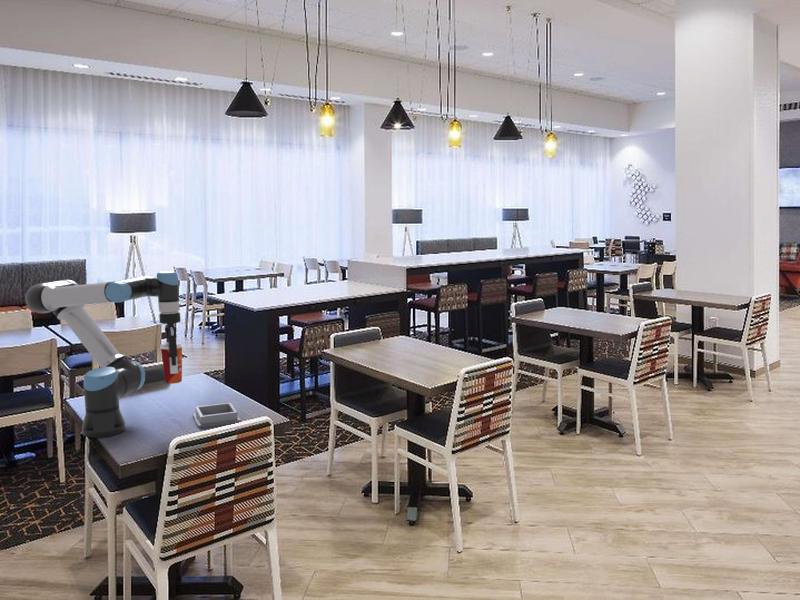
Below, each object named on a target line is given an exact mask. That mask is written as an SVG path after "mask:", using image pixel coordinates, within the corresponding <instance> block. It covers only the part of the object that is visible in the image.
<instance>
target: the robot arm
mask: <svg viewBox="0 0 800 600" xmlns="http://www.w3.org/2000/svg"><path fill="white" fill-rule="evenodd" d="M179 284H180V283H179V277H178V273H177V272H176V271H170V270H169V271H159V272H156V276H141V275H138V276H131V277H130V278H128V279H121V280H114V281H103V282H95V283H94V282H93V283H86V284H84V283H83V284H79V283H77V282H75V281H74V280H71V279H58V280H57V279H56V280H55V281H47V282H46V281H45V282H40V283H37V284H34V285H32V286H31V287H30V288H28V290H27V291H26V294H25V298H24V299H25V304H26V306H27V307H28V309H30V310H31V311H32V312H34V313H37V314H47V313H53V314H54V316H55V317H56V318H57V320H61V321H64V322H65V323H66V324H67V325H68V327H69V328H70V330H71V331H72V332H73V334H74V335H75V336H76V337H77V338H78V340H79V341H80V343H81V344H82V345H83V346H84V348H85V349H86V350H87V352H88V353H89V354H90V356H91V357H92V358H93V360H94V361H95V362H96V363H97V365H98V366H99V368H93V369H90V370H89V371H87V372H86V373H85V374H84V377H83V386H82V387H83V394H84V395H83V396H84V406H85V413H84V414H85V415H84V419H83V422H82V426H81V434H82V436H83V437H85V438H96V439H97V438H98V439H99V438H107V437H108V438H109V437H111V436H115V435H118V434H121V433H123V432H125V430H126V421H125V419H124V416H123V414H122V412H121V410H120V399H121V398H122V397H125V396H127V395H129V394H133V393H135V392H136V391H138V390H139V389H141V388H142V387H143V386H144V383H145V381H146V372H145V369H144V367H143V365H142V364H140V363H139V362H137V361H133V360H132V361H131V359H129V357H128V356H127V355H126V354H121V353H120V352H119V351H118V350H117V349H116V347H115V346H114V345H113V343H112V342H111V341H110V339H109V338H108V337H107V335H106V334H105V333H104V332H103V330H102V328H100V326H99V325H98V324H97V323H96V321H95V320H94V319H93V316H91V315H90V314H89V312H88V311H87V310H86V308H85V306H86V305H88V306H89V305H95V304H96V305H97V304H107V303H124V302H127V301H131V300H135V299H136V300H137V299H140V298H146V297H156V298H157V299H158V303H157V305H158V313H159V315H158V317H159V324H161V325H164V326H165V327H164V332H165V337H166V339H165V340H166V342H169V352H170V355H168V357H169V359H170V374H175V373H178V363H177V355H178V354H177V344H176V342H177V331H178V330H177V327H176V326H175V324H178V323H180V322H181V313H180V312H179V311H180V310H181V309H180V307H181V306H182V303H181V302H180V294H179V293H180V291H179V286H180V285H179Z"/></svg>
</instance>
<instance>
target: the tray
mask: <svg viewBox="0 0 800 600" xmlns="http://www.w3.org/2000/svg"><path fill="white" fill-rule="evenodd" d="M192 417H193V419H194V422H195V423H196V426H197V425H198V426H197V427H198V428H199V429H202V428H201V427H203V428H207V427H206V426H210V427H217V426H224V425H232V424H231V423H233V424H236V423H235V422H240V423H242V419H241V418H240V417H239V415H238V411H237V410H236V408H235V407H234V406H233V404H232V402H224V403H216V404H215V403H214V404H208V405H200V406H195V413H192Z"/></svg>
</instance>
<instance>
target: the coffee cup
mask: <svg viewBox="0 0 800 600" xmlns="http://www.w3.org/2000/svg"><path fill="white" fill-rule="evenodd" d="M176 344H177V354H178V355H177V363H178V373H175V374H170V359H169V357H168V355H170V352H169V342H167V341H166V342H163V343H161V345H160V346H159V349H160V351H161V358H162V366H163V374H164V381H165V384H170V385H171V384H178V383H182V381H183V347H184V346H183V344H182V341H181V342H180V341H176Z"/></svg>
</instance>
